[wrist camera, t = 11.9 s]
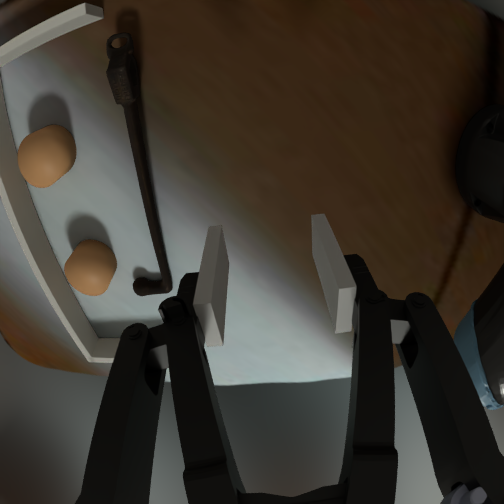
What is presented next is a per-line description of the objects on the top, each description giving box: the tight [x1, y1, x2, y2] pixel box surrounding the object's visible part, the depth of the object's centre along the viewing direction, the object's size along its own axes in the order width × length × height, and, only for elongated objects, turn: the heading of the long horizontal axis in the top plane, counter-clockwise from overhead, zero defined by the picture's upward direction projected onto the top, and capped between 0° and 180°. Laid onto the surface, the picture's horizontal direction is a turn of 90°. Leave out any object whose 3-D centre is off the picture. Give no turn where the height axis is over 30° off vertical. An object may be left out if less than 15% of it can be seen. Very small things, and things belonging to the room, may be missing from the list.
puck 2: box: [64, 239, 117, 296], centre depth 34 cm, size 6×6×4 cm
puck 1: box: [18, 125, 76, 188], centre depth 26 cm, size 6×6×4 cm
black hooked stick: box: [106, 33, 173, 296], centre depth 29 cm, size 5×5×30 cm
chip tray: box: [0, 3, 120, 363], centre depth 30 cm, size 16×44×4 cm, turn 5°
